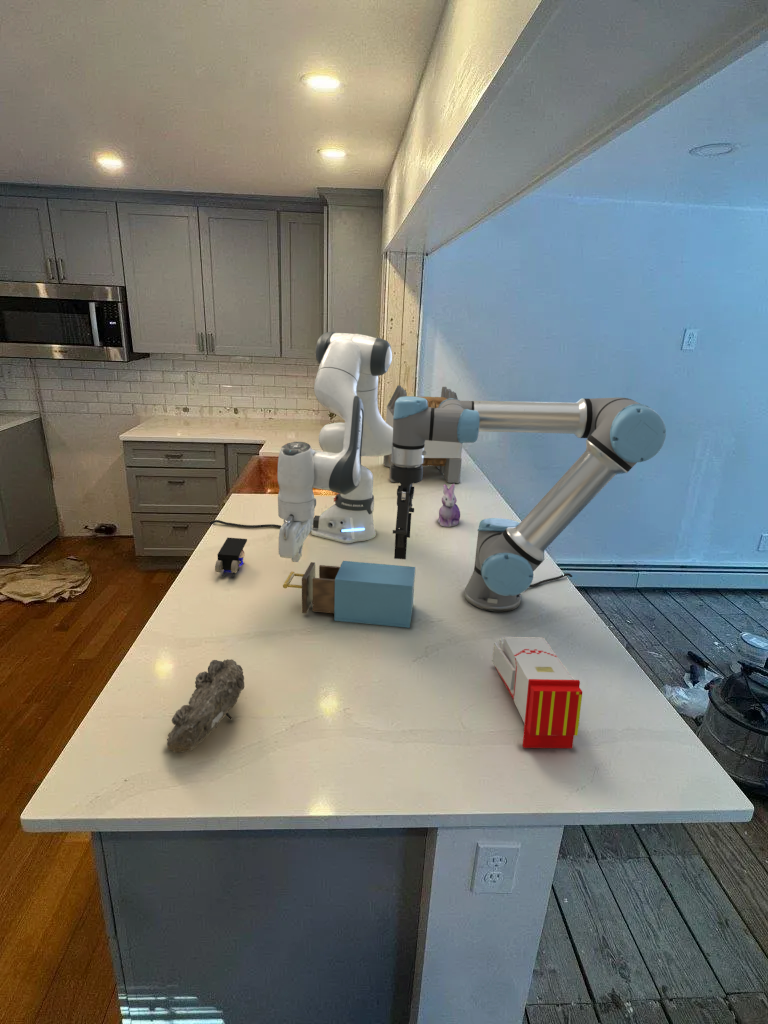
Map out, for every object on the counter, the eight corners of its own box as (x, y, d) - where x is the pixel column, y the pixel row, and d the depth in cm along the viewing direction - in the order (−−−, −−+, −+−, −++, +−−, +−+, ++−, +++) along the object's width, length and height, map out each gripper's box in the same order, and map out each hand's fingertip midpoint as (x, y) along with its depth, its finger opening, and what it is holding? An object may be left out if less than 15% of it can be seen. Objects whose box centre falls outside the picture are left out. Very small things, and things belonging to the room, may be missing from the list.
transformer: (382, 463, 289) (386, 382, 275) (445, 464, 293) (451, 384, 279) (390, 482, 257) (394, 392, 243) (460, 483, 261) (468, 394, 247)
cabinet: (334, 620, 143) (334, 579, 139) (342, 599, 153) (342, 560, 149) (409, 628, 141) (412, 586, 137) (412, 606, 152) (415, 566, 148)
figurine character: (238, 584, 162) (249, 557, 175) (236, 562, 158) (247, 536, 172) (215, 584, 161) (227, 556, 175) (212, 561, 158) (225, 535, 171)
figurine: (445, 529, 206) (449, 489, 200) (430, 519, 214) (433, 481, 209) (467, 525, 210) (470, 487, 205) (451, 516, 218) (454, 479, 213)
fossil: (192, 660, 117) (244, 628, 112) (224, 691, 120) (276, 661, 115) (142, 746, 98) (202, 712, 93) (182, 779, 101) (242, 748, 96)
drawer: (281, 611, 145) (281, 576, 141) (292, 593, 154) (291, 560, 150) (371, 619, 142) (373, 584, 139) (376, 601, 152) (378, 567, 148)
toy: (540, 620, 128) (592, 687, 99) (535, 674, 131) (584, 755, 102) (487, 619, 128) (523, 686, 99) (483, 673, 131) (517, 754, 101)
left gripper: (297, 524, 130) (298, 578, 135) (317, 497, 149) (317, 545, 154) (271, 522, 131) (272, 576, 135) (294, 495, 150) (295, 543, 154)
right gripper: (420, 480, 121) (414, 570, 128) (425, 452, 144) (420, 530, 151) (385, 477, 122) (381, 567, 129) (396, 450, 145) (392, 527, 152)
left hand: (296, 559), depth 145 cm, fingers closed
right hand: (402, 547), depth 140 cm, fingers open, 13 cm apart
